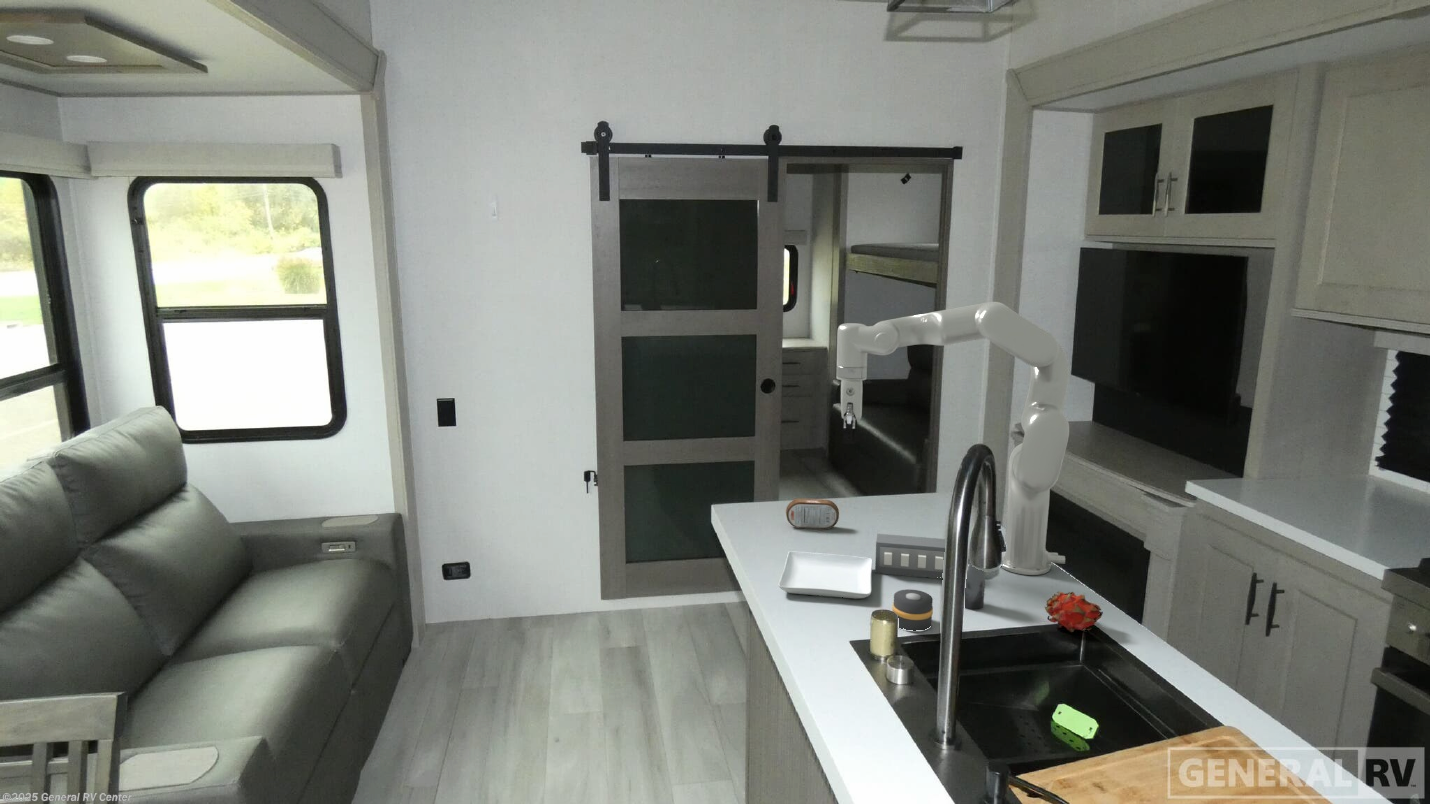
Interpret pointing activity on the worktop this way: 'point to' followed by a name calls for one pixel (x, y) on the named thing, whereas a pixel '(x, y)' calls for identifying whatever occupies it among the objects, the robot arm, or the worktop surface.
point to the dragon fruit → (1072, 611)
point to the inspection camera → (974, 588)
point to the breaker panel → (909, 556)
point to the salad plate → (827, 575)
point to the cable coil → (913, 609)
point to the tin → (812, 513)
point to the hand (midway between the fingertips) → (849, 438)
